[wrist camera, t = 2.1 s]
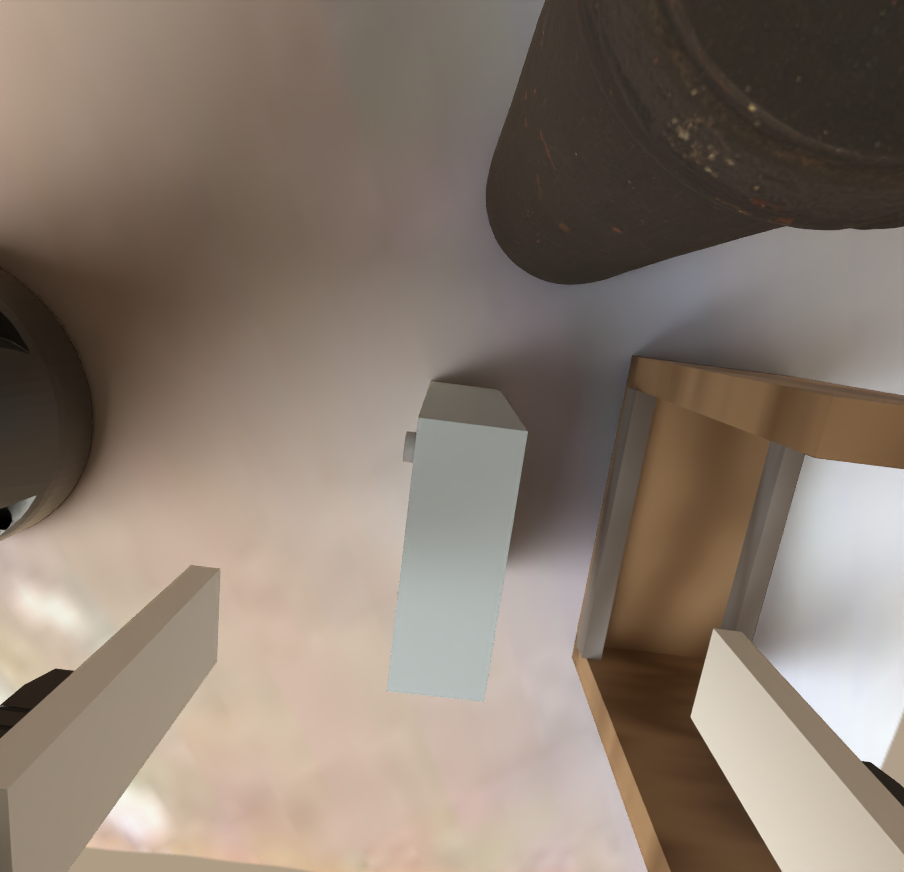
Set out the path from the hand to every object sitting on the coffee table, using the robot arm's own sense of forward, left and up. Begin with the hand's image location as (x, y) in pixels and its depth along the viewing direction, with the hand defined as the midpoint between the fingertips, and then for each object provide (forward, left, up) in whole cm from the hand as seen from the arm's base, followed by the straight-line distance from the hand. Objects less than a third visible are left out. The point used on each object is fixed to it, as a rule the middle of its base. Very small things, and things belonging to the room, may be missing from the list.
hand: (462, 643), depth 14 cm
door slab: (0, 0, -14) cm, 14 cm away
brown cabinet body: (+12, -1, -14) cm, 18 cm away
